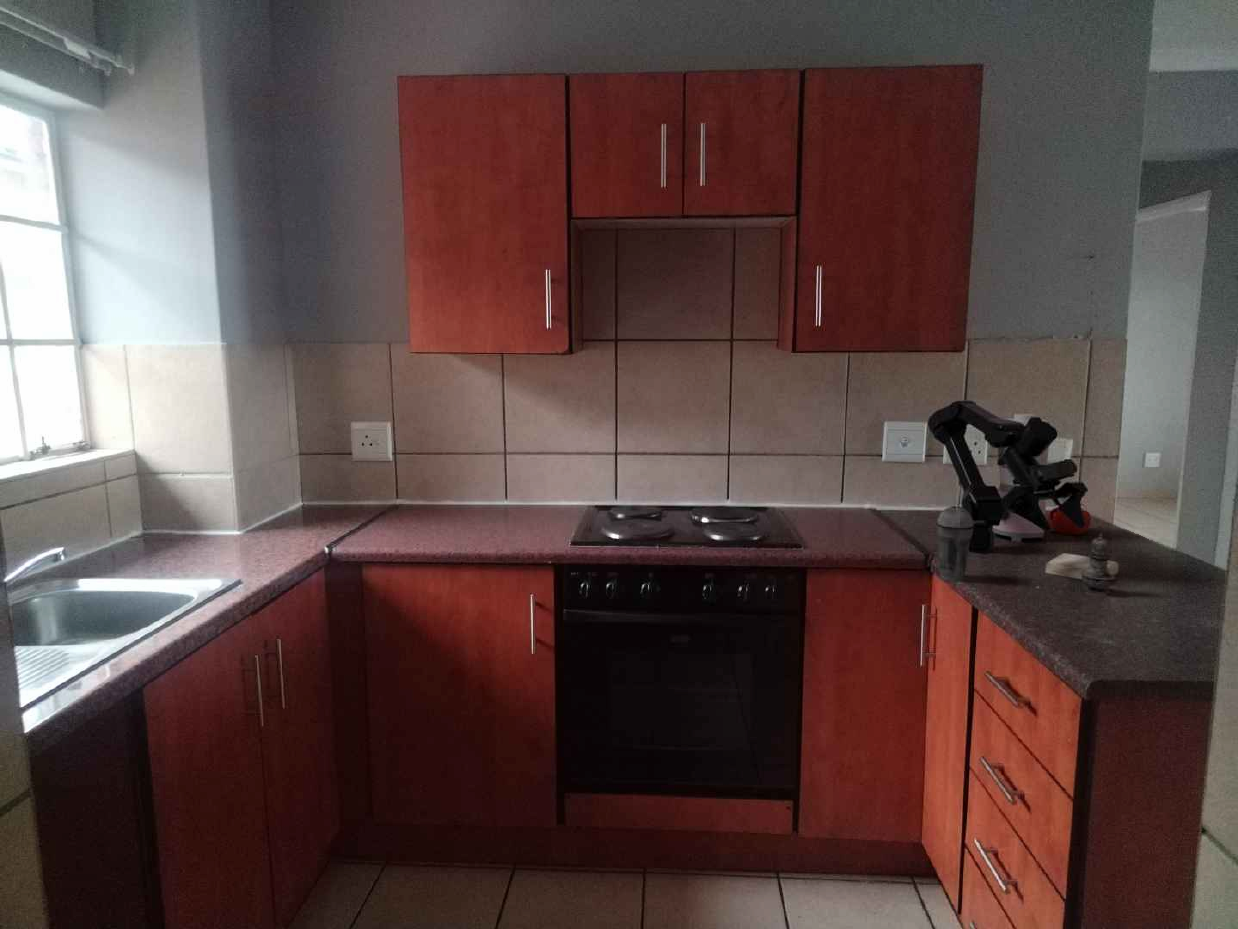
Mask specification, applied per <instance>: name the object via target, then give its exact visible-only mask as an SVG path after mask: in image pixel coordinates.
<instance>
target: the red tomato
mask: <svg viewBox="0 0 1238 929" xmlns="http://www.w3.org/2000/svg"><path fill="white" fill-rule="evenodd" d="M1053 506H1054V508H1052V510H1050V511H1049V513H1048V515H1047V521H1048V523H1049V525H1050V527H1051V531H1052V532H1055V533H1059V534H1062V535H1069V534H1070V535H1069V536H1076V535H1082V534H1084V533H1085V532H1087V530H1088V529H1089V527H1090V525H1091V523H1092V516H1091V514H1090V512H1089V511H1087V510H1085V508H1087V506H1086V505H1084V504H1082V503H1081V506H1082V507H1081V510H1082V514H1083V518H1084V523H1085V527H1083V528H1079V527H1078V526H1077V525H1075V524H1074V523H1073V522H1072V521H1071V520H1070V519H1069V518H1068V517H1066V516H1065V515H1064V514H1063V513H1062V512H1061V511H1060V510H1059V509H1058V507H1059V506H1057V505H1056V504H1053ZM1055 506H1057V507H1055ZM1084 507H1085V508H1084Z"/></svg>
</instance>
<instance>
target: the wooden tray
mask: <svg viewBox="0 0 1238 929" xmlns="http://www.w3.org/2000/svg"><path fill="white" fill-rule="evenodd" d="M1089 562H1090V557H1089V556H1085V555H1080V554H1079V555H1078V554H1073V553H1072V554H1071V553H1066V552H1065V553H1064V552H1063V553H1060V555H1058V556H1056V557H1054V558H1053V559H1051V560H1049V561H1048V562H1045V572H1044V573H1046V574H1051V575H1055V576H1056V575H1057V576H1062V577H1067V578H1071V579H1077V580H1082V575H1081V574H1080V572H1081V571H1086V570H1087V569H1088V567H1089ZM1107 570H1108V573H1109V574H1111V575H1113V576H1116V575H1117V574H1118V573H1119V563H1117V561H1114V560H1113V561H1112V560H1110V559H1108V563H1107Z"/></svg>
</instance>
